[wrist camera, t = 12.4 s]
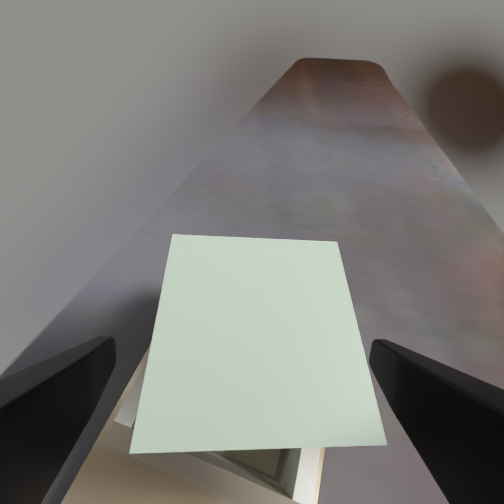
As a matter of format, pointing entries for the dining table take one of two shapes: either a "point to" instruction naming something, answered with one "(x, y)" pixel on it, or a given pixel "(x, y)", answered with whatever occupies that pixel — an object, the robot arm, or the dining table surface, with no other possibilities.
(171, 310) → the peg
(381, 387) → the robot arm
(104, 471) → the holder
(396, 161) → the dining table surface
